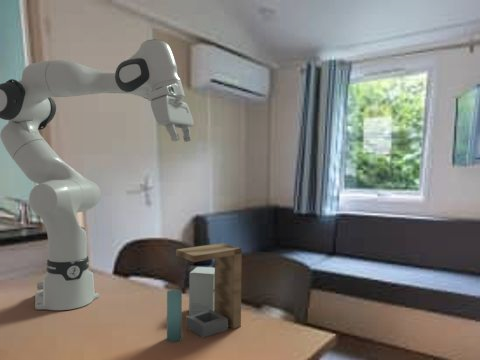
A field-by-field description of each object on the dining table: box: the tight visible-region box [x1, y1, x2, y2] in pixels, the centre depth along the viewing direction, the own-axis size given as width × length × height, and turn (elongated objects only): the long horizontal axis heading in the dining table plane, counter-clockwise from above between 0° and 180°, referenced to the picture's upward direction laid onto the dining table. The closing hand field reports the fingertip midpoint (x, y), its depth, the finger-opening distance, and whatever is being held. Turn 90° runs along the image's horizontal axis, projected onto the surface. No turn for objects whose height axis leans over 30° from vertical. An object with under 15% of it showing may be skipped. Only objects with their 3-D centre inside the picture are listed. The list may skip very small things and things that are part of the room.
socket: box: [186, 310, 229, 339], centre depth 103 cm, size 8×8×3 cm
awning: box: [175, 242, 243, 330], centre depth 103 cm, size 9×15×22 cm, turn 129°
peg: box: [166, 289, 183, 343], centre depth 97 cm, size 4×4×12 cm
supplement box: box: [188, 266, 215, 316], centre depth 115 cm, size 7×7×13 cm
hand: (182, 141), depth 111 cm, fingers open, 8 cm apart
